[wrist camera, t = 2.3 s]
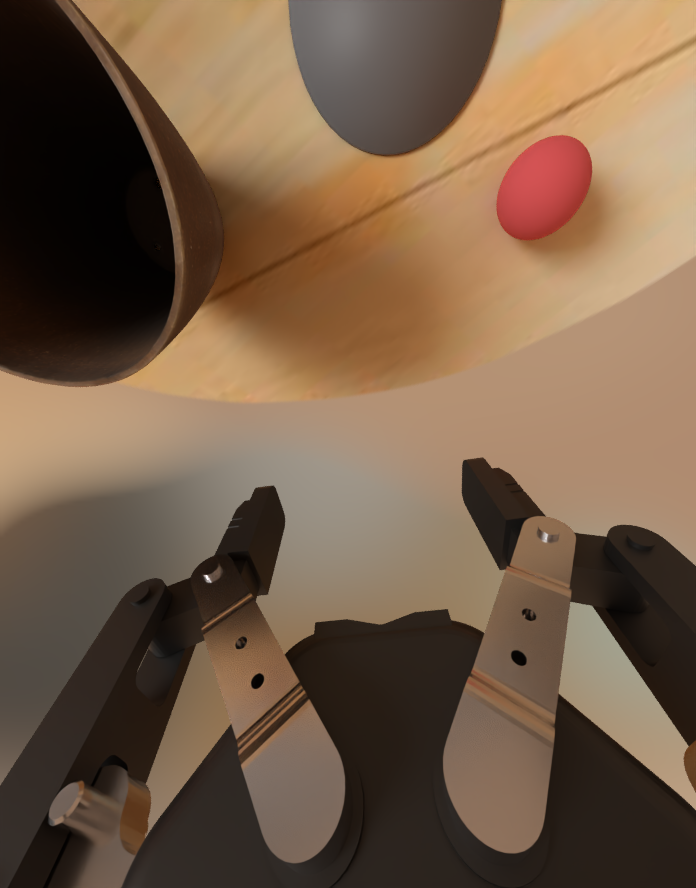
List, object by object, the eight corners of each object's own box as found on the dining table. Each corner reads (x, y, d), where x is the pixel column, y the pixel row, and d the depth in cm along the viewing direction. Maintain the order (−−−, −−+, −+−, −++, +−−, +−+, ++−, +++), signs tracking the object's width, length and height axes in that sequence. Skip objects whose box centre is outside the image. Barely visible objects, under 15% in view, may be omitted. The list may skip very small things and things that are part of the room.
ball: (534, 126, 21) (586, 92, 17) (574, 191, 23) (630, 177, 19) (470, 203, 24) (500, 193, 19) (511, 257, 26) (547, 259, 21)
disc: (392, -316, 14) (393, -323, 13) (546, -11, 18) (548, -14, 18) (249, 34, 19) (248, 32, 19) (395, 201, 24) (395, 200, 23)
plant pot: (306, 256, 26) (259, 266, 12) (190, 352, 30) (64, 435, 17) (161, 24, 19) (-293, -510, 6) (39, 193, 24) (-370, 123, 10)
